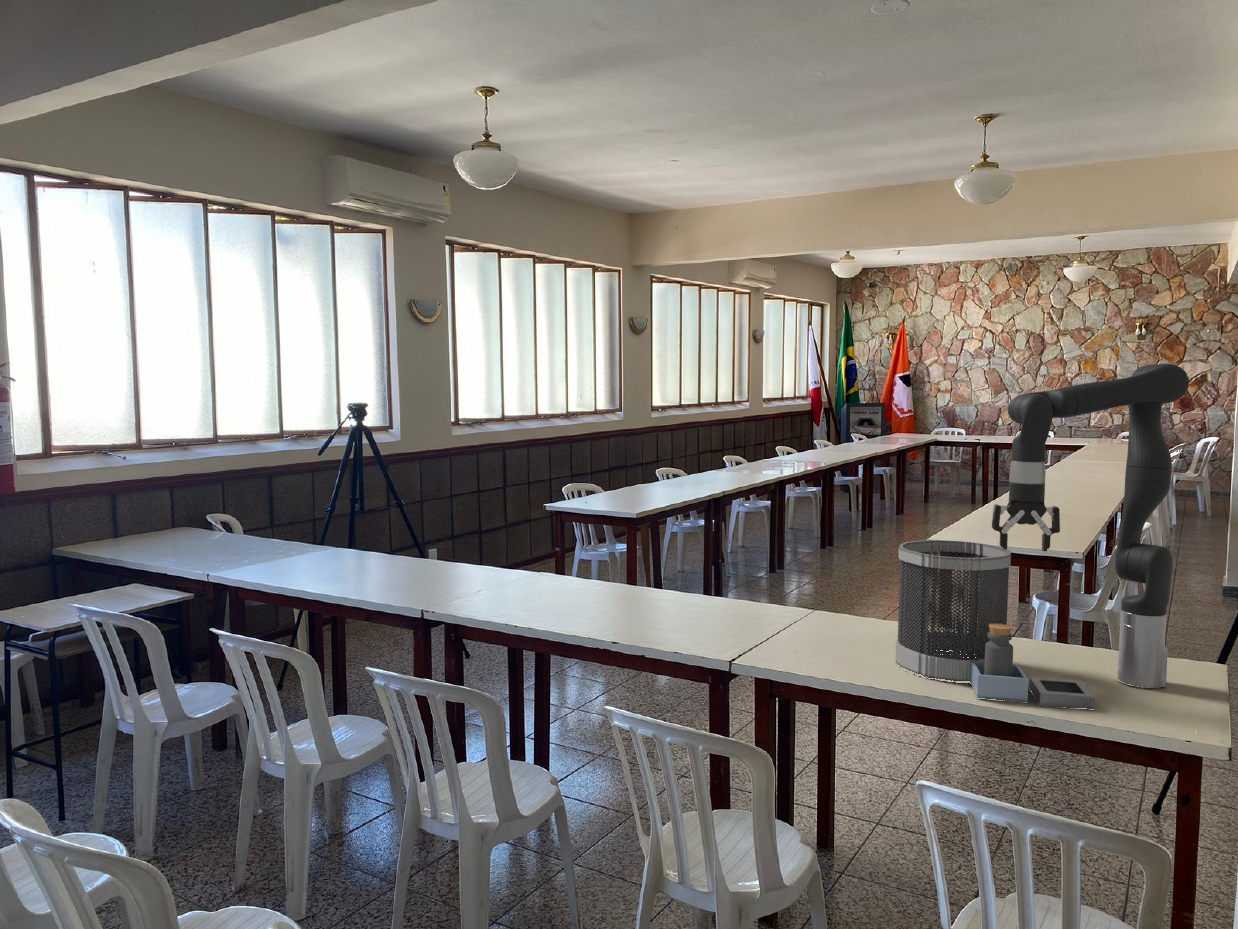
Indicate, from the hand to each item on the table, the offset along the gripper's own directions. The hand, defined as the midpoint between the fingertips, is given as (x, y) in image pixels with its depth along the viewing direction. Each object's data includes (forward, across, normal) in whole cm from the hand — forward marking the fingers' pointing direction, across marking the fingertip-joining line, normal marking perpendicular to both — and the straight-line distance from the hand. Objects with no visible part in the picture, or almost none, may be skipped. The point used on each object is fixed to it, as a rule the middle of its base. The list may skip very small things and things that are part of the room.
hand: (1024, 550), depth 205 cm
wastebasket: (+32, -14, +10) cm, 37 cm away
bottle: (+32, -6, -8) cm, 33 cm away
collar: (+32, +7, -9) cm, 34 cm away
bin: (+32, -6, -8) cm, 34 cm away
